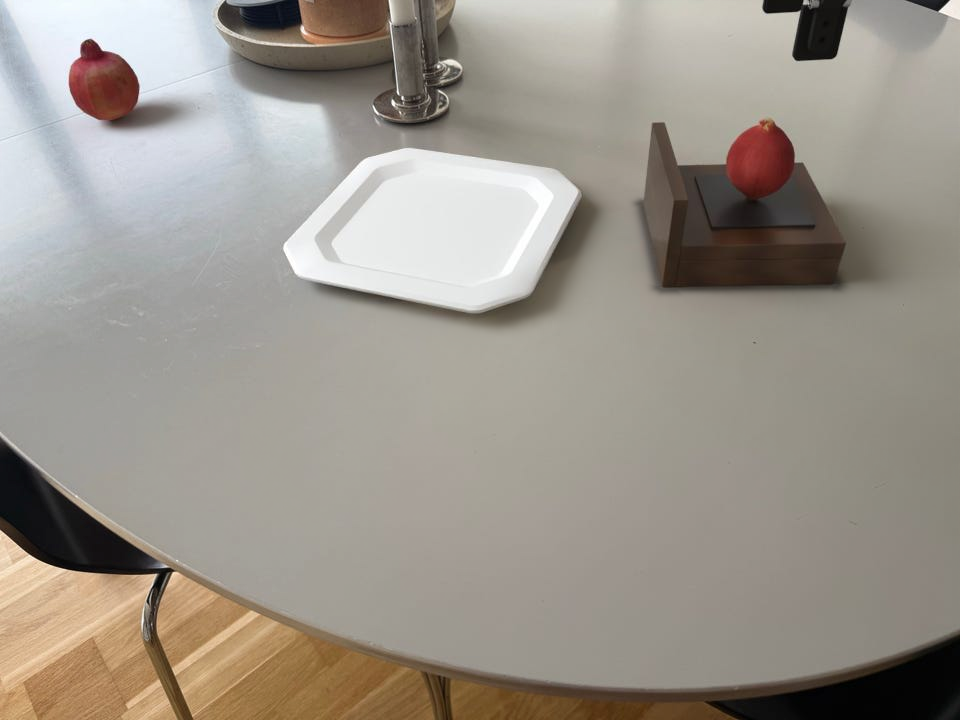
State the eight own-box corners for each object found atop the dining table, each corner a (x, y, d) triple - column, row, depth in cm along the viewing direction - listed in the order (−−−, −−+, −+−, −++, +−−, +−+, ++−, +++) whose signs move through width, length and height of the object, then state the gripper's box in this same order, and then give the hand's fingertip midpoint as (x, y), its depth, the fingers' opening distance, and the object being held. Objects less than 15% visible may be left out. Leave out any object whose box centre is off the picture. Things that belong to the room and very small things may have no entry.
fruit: (150, 125, 102) (123, 45, 95) (82, 138, 100) (50, 57, 93) (147, 99, 108) (121, 22, 101) (82, 111, 106) (52, 33, 99)
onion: (735, 176, 78) (750, 96, 73) (794, 192, 76) (814, 111, 70) (709, 204, 75) (723, 122, 69) (771, 222, 72) (790, 139, 67)
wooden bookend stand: (793, 200, 83) (814, 118, 77) (833, 284, 73) (861, 196, 67) (643, 204, 84) (652, 122, 78) (662, 287, 74) (673, 200, 67)
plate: (517, 337, 69) (517, 317, 68) (265, 285, 76) (260, 266, 75) (591, 191, 86) (592, 172, 85) (379, 159, 93) (377, 141, 92)
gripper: (960, -209, 47) (881, 77, 59) (863, -248, 60) (814, -7, 72) (827, -200, 48) (775, 82, 59) (760, -240, 60) (727, -2, 72)
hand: (796, 33), depth 65 cm, fingers open, 9 cm apart
